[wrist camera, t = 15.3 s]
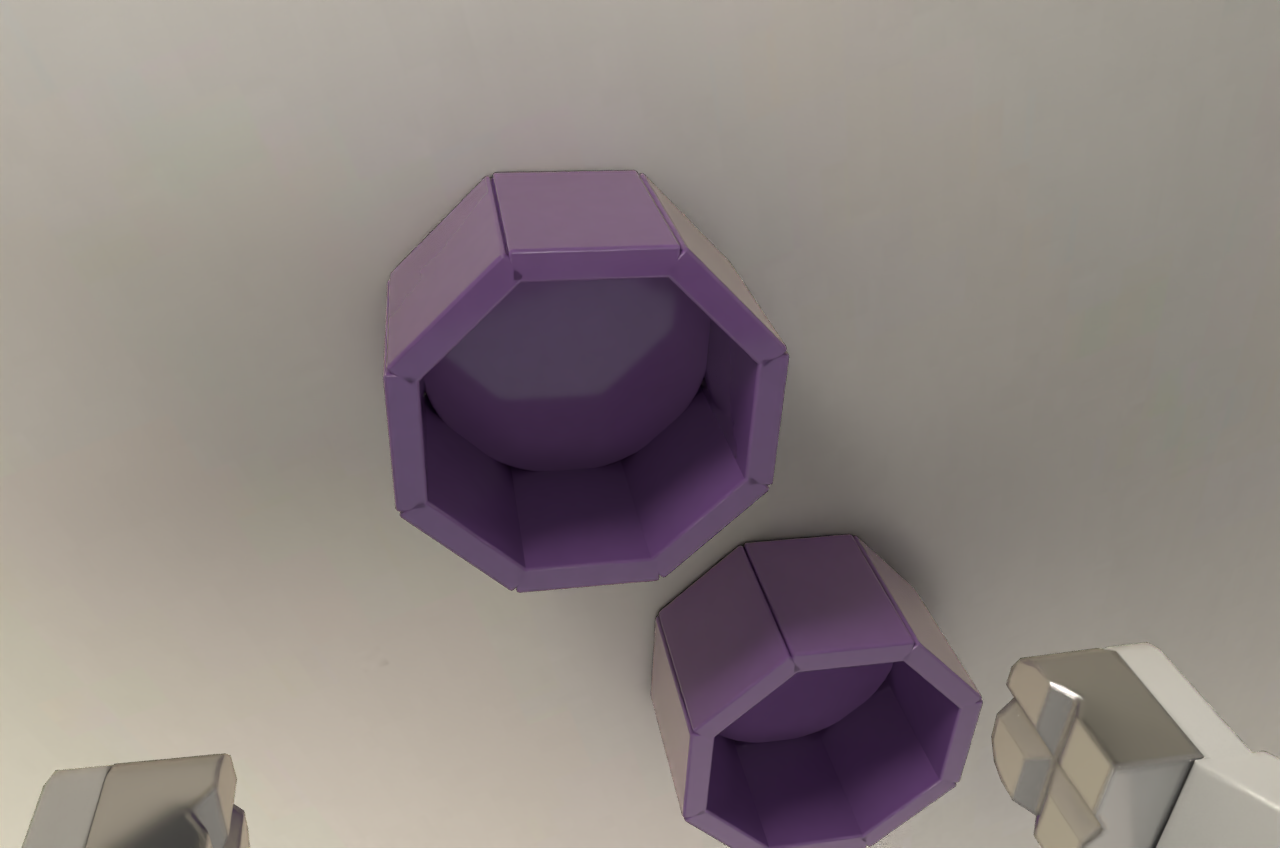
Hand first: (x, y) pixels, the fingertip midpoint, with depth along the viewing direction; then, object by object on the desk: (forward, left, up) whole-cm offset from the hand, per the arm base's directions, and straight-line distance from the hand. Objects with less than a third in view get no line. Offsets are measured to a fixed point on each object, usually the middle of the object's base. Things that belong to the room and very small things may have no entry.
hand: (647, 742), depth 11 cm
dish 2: (-5, +8, -9) cm, 13 cm away
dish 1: (0, 0, -9) cm, 9 cm away
